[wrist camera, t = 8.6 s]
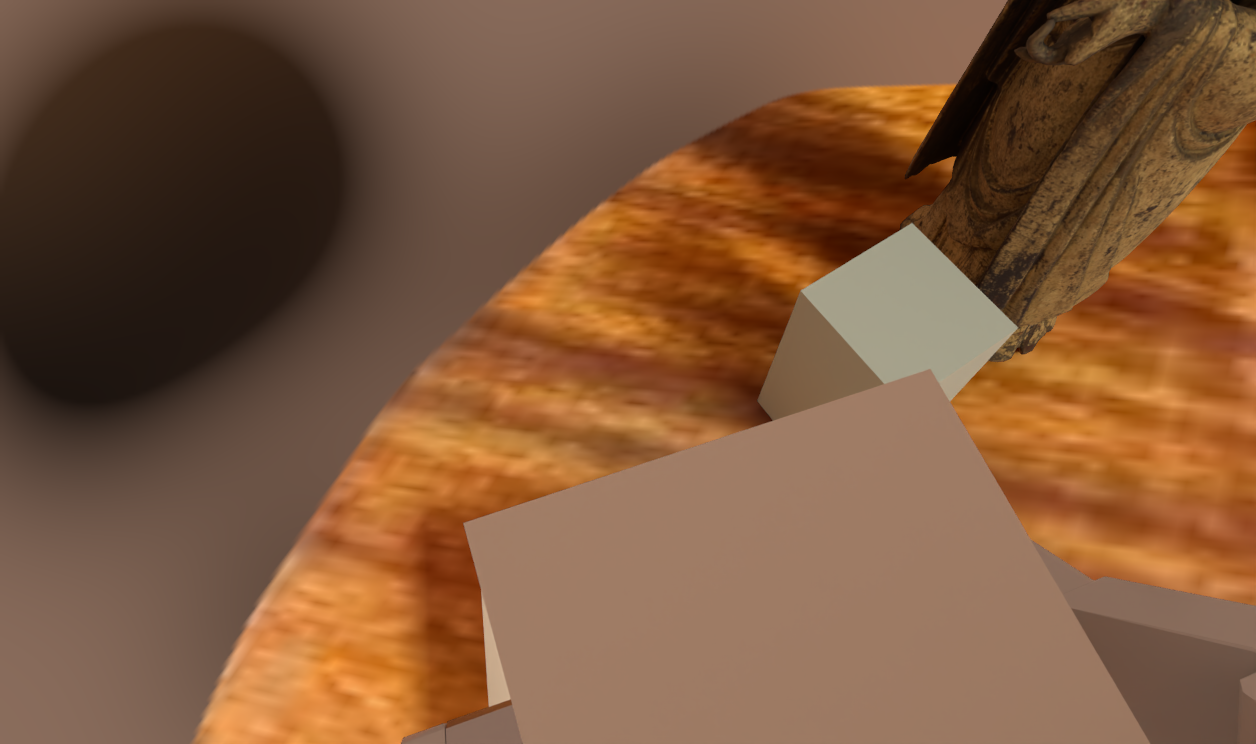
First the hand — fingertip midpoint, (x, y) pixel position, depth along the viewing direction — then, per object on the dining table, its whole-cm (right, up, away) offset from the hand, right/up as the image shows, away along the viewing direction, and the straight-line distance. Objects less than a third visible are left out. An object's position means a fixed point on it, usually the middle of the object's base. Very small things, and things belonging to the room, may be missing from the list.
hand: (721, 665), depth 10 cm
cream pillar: (0, -3, +4) cm, 4 cm away
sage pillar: (+7, +2, +21) cm, 22 cm away
